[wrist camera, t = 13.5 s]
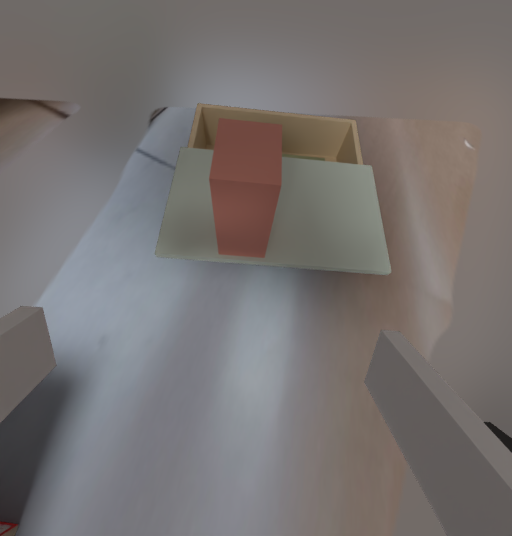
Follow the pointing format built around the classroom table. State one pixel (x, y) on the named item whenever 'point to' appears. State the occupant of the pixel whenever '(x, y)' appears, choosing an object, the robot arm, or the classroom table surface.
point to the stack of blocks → (8, 529)
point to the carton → (286, 132)
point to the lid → (271, 206)
